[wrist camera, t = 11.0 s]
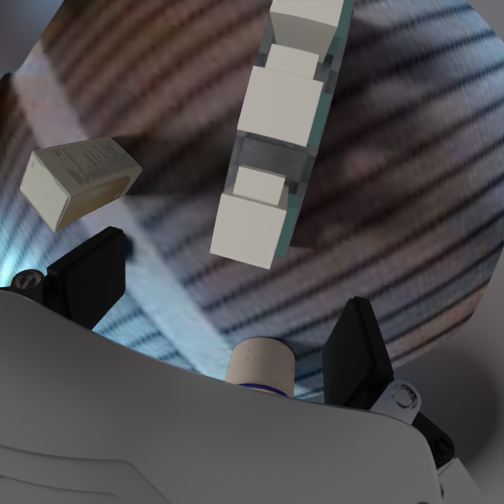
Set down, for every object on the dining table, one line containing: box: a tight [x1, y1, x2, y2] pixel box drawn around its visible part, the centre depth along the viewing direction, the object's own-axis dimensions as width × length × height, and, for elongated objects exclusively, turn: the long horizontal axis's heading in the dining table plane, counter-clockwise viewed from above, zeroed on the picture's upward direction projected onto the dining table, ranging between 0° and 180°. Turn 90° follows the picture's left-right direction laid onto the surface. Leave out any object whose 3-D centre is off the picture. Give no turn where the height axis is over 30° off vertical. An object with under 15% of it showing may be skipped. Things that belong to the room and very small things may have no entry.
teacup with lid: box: [224, 337, 295, 398], centre depth 31 cm, size 12×9×12 cm
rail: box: [224, 10, 354, 258], centre depth 22 cm, size 25×7×3 cm, turn 166°
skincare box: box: [20, 137, 143, 232], centre depth 22 cm, size 6×4×12 cm
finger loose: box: [210, 164, 298, 269], centre depth 21 cm, size 6×5×9 cm
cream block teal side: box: [270, 0, 354, 63], centre depth 14 cm, size 6×5×9 cm
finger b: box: [237, 44, 331, 147], centre depth 17 cm, size 6×5×9 cm
